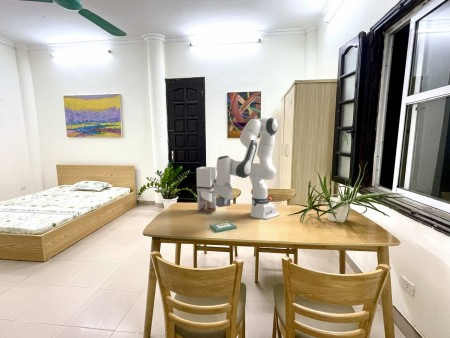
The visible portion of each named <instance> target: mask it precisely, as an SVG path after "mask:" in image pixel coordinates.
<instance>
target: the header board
mask: <svg viewBox="0 0 450 338" xmlns="http://www.w3.org/2000/svg"><path fill="white" fill-rule="evenodd" d="M225 223H226V221H224V226H223V222H221V226H220V222H219V223H213V224H210V225H209V227H210V228H211V229H212V230H213V231H214V232H215V233H222V232H226V231H231V230H236V229H238V228H237V227H238V226H237V225H235V224H233V222H231V221H227V225H225Z"/></svg>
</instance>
